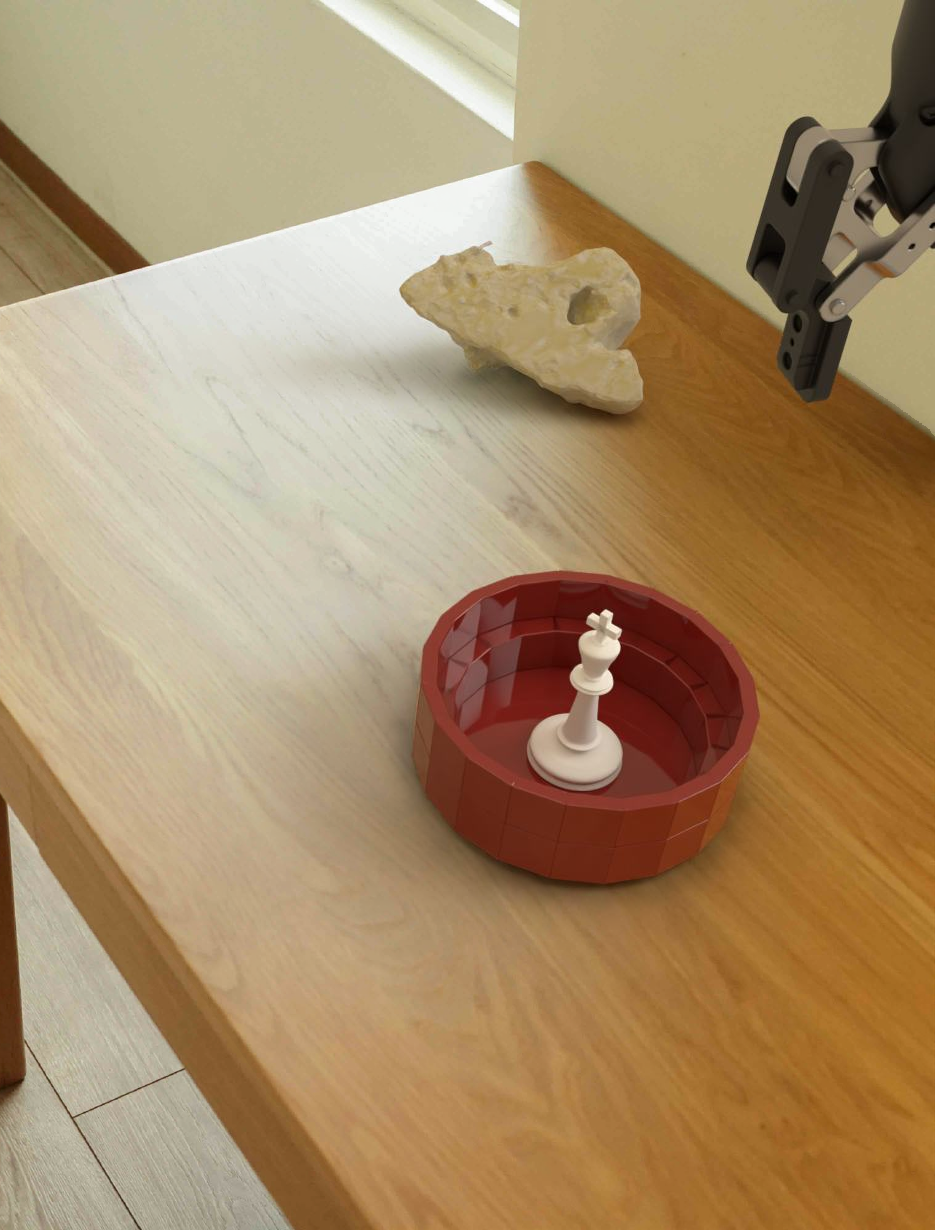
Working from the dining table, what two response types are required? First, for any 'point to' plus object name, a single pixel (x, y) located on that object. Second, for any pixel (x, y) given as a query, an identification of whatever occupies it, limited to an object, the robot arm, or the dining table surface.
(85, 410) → the dining table surface
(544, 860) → the bowl
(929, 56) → the robot arm
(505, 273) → the beige rock
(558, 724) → the chess piece
